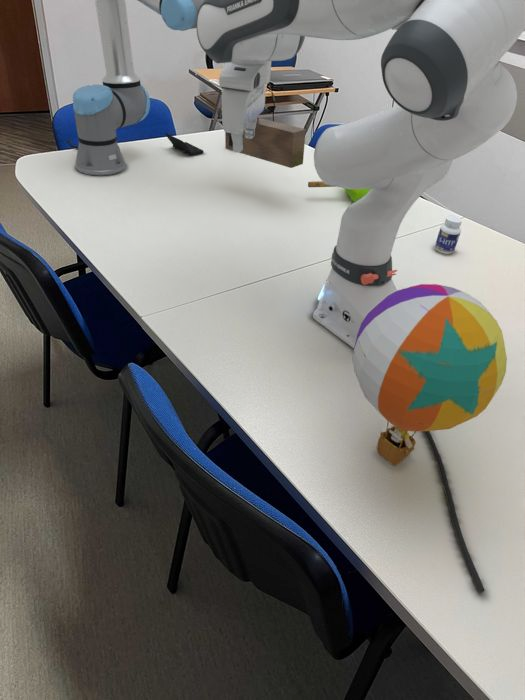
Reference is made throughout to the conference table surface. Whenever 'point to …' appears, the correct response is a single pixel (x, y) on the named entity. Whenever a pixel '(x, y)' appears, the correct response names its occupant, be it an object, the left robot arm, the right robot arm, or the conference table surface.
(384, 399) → the toy
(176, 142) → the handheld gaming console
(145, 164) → the conference table surface
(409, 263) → the conference table surface
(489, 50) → the right robot arm
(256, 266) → the conference table surface
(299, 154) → the bar
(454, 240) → the pill bottle
